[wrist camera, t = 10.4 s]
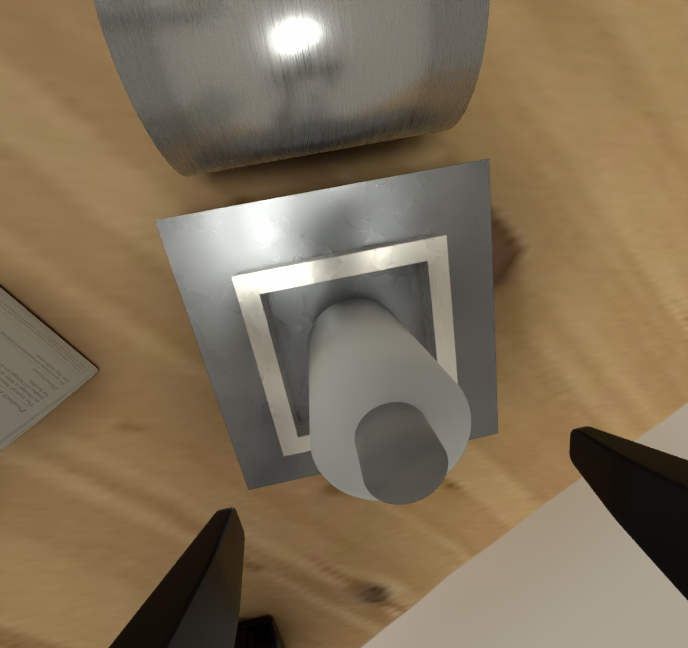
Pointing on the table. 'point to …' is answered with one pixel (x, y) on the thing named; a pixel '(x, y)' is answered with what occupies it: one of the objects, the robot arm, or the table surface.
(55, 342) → the supplement box
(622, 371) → the table surface
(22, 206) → the table surface
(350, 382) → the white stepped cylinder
